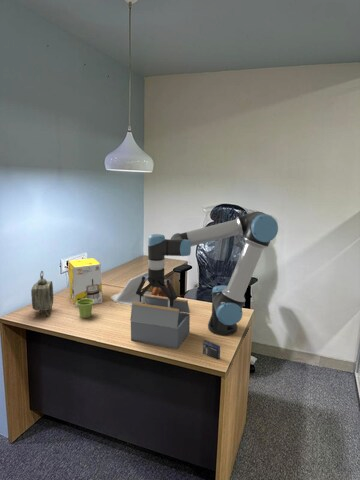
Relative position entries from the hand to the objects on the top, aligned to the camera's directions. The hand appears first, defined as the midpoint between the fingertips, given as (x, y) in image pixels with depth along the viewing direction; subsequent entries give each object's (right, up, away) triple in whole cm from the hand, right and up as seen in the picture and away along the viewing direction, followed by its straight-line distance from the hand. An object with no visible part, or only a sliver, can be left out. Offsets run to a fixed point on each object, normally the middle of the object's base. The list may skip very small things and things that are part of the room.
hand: (156, 310), depth 158 cm
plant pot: (-42, -10, +30) cm, 53 cm away
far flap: (+4, +1, +11) cm, 12 cm away
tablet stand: (-19, -4, +60) cm, 63 cm away
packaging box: (-49, -5, +53) cm, 72 cm away
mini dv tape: (+25, -18, -10) cm, 33 cm away
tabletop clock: (-67, -9, +34) cm, 76 cm away
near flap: (-1, -1, -2) cm, 3 cm away
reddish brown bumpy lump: (0, -8, +41) cm, 41 cm away
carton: (+2, -14, +8) cm, 16 cm away
